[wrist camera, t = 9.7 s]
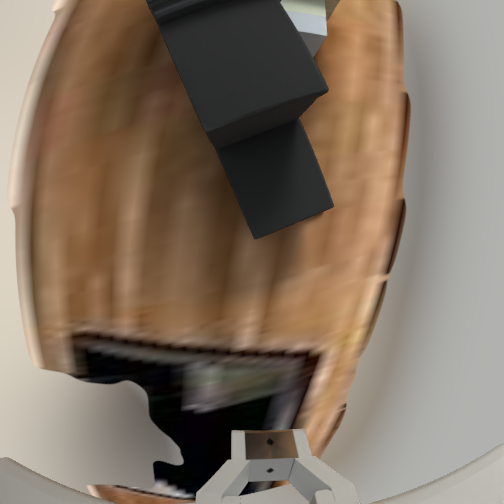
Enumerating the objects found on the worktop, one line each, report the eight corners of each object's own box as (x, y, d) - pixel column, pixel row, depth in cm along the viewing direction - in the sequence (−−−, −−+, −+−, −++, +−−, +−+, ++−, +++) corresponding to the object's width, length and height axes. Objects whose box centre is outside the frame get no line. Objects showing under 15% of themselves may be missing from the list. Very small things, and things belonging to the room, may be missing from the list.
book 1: (212, 31, 32) (205, -10, 21) (305, 38, 33) (324, 0, 22) (210, 46, 33) (202, 7, 22) (305, 53, 34) (326, 17, 23)
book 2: (210, 46, 33) (202, 7, 22) (305, 53, 34) (325, 17, 23) (208, 63, 34) (199, 25, 23) (305, 69, 34) (326, 35, 24)
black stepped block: (324, 209, 39) (423, 241, 16) (254, 238, 40) (274, 310, 17) (261, 63, 34) (285, -47, 11) (190, 89, 34) (139, -7, 12)
